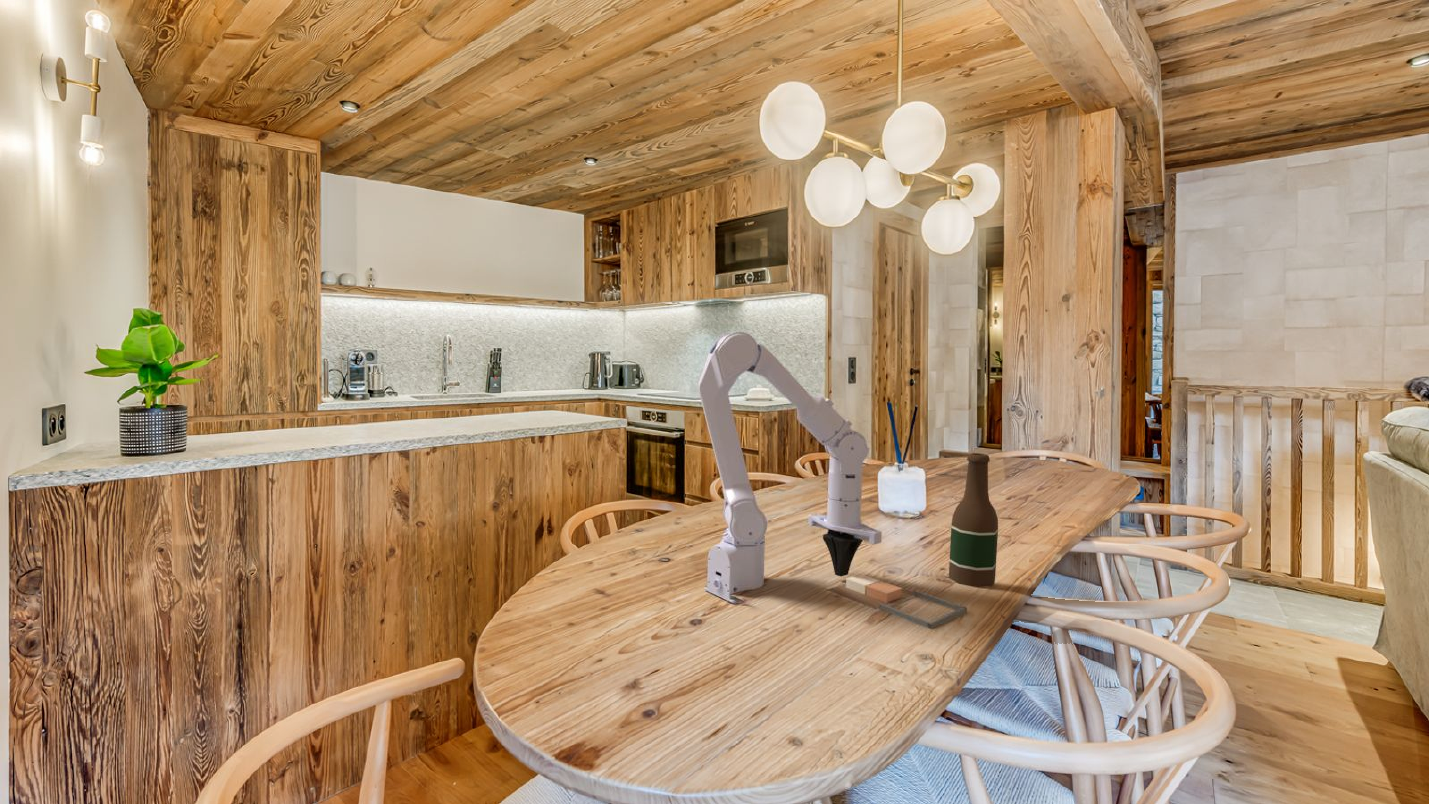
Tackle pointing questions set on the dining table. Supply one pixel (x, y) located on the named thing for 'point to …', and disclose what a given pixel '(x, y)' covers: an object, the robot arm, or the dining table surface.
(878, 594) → the terracotta tile
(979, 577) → the beer bottle
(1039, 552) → the dining table surface
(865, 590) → the offwhite tile
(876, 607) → the walnut board
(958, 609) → the tray
